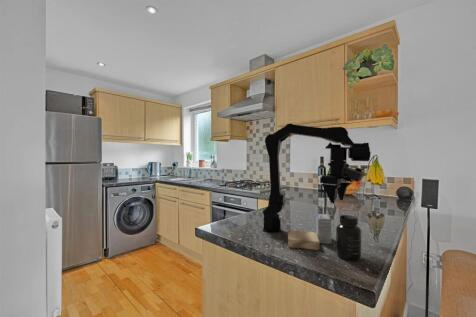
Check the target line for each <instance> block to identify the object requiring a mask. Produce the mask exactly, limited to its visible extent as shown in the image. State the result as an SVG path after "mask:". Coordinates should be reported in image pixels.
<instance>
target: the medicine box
mask: <svg viewBox="0 0 476 317" xmlns="http://www.w3.org/2000/svg"><path fill="white" fill-rule="evenodd" d="M315 232H316V234H317V236H318V239H319V242H320V244H327V245H329V244H332V219H331V218H330V216H329V215H328V214H326V213H315Z"/></svg>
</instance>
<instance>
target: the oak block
mask: <svg viewBox="0 0 476 317" xmlns="http://www.w3.org/2000/svg"><path fill="white" fill-rule="evenodd" d="M320 244H321V243H320V242H319V239H318V236H317V234H316V231H304V230H295V229H294V230H293V229H292V230H291V229H288V230H287V248H295V249H297V248H298V249H299V248H300V249H305V250H307V249H308V250H317V251H319V250H320V247H321V246H320Z"/></svg>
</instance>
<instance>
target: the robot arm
mask: <svg viewBox="0 0 476 317" xmlns="http://www.w3.org/2000/svg"><path fill="white" fill-rule="evenodd" d="M291 135H296V136H303V137H311V138H317V139H322V140H325V141H328V142H329V143H328V145H326V146H325V149H326V150H329V149H330V152H329V153H330V154H329V156H330V158H329V159H330V160H329V162H328V163H327V166H329V173H327V174H325V175H322V176H320V178H319V183H320V184H321V186H323V189H324V191H325V193H326V195H327V197H328V199H329V202H330V203H331V204H335V201H336V195H338V197H339V200H340V201H344V197H345V195H346V192H347V189H348V187H349V186H351V185H352V184H353V182H357V183H359V182H361V181H362V178H363V177H364V176H365V175H364V174H365V172H363V169H362V168H361V167H356V168H351V167H350V164H349V163H347V160H348V159H350V160H351V161H352V162H369V161H370V159H371V153H372V152H371V149H370V144H369V142H361V143H358V142H357V143H356V142H353V139H351V138H350V137H349V132H348V130H347V129H346V128H345V127H342V126H330V127H317V126H309V125H308V126H307V125H300V124H293V123H291V122H290V123H287V124H286V125H285V126H283V127H282V128H280V129H278V130H277V131H275V132H273V133H270V134H267V136H266V137H265V138H264V144H265V148H266V151H267V154H268V160H269V161H268V162H269V163H268V165H269V180H270V181H269V183H270V185H269V186H270V192H269V196H268V204H267V206H266V207H265V209H263V211H262V214H263V227H262V231H263V232H272V233H279V232H280V230H281V228H282V227H281V226H282V225H281V223H282V222H281V220H282V219H281V217H280V212H282V210H283V208H284V207H285V204H286V203H287V202H286V193H283V192H282V190H281V176H280V174H281V172H280V153H281V146H282V142H284V141H286V139H287V138H289V137H290V136H291ZM332 143H335V144H332ZM347 158H348V159H347Z"/></svg>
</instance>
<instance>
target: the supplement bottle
mask: <svg viewBox="0 0 476 317" xmlns="http://www.w3.org/2000/svg"><path fill="white" fill-rule="evenodd" d="M358 219H359V217H357V216H354V215H351V214H350V215H348V214H342V215H340V216H339V224H338V225H337V226H336V229H335V230H336V231H335V232H336V233H335V234H336V235H335V240H336V241H335V242H336V248H335V250H336V251H335V252H336V256H338V258H340V259H342V260H345V261H348V262H349V261H350V262H357V261H360V260H361V258H362V229H361V227H359V226H358V225H359V221H358Z"/></svg>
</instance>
